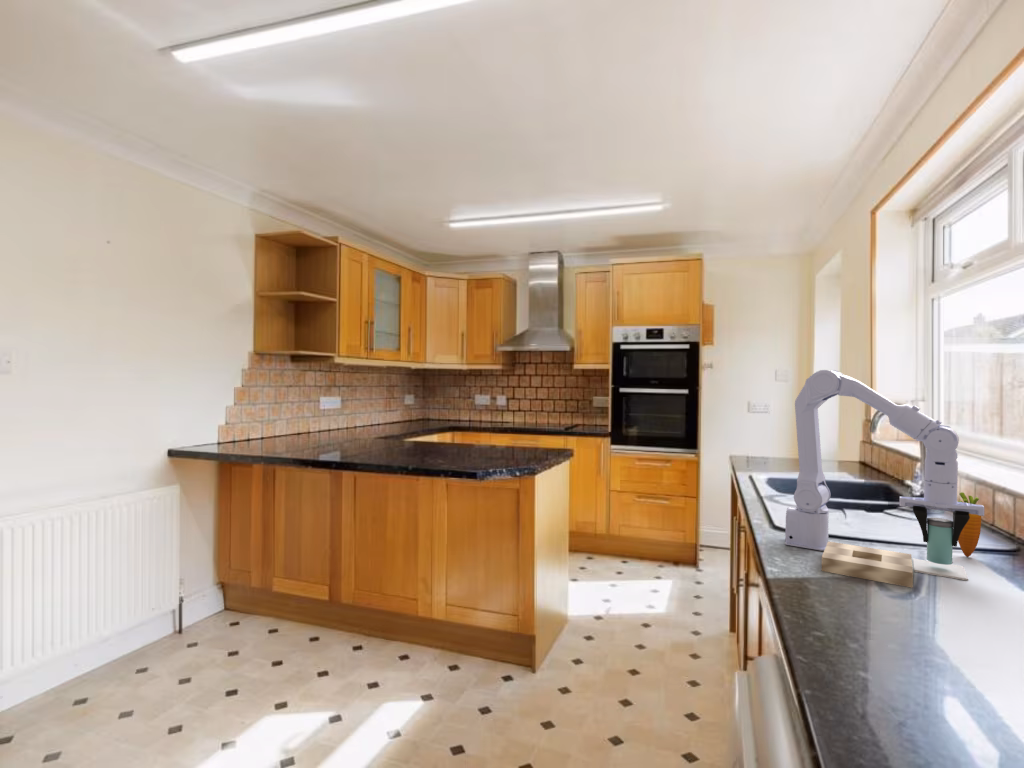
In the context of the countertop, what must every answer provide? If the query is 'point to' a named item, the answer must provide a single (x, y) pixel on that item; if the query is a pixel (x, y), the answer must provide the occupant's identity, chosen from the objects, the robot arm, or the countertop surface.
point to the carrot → (970, 529)
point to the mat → (939, 569)
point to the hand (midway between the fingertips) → (939, 543)
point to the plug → (939, 540)
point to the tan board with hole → (868, 563)
